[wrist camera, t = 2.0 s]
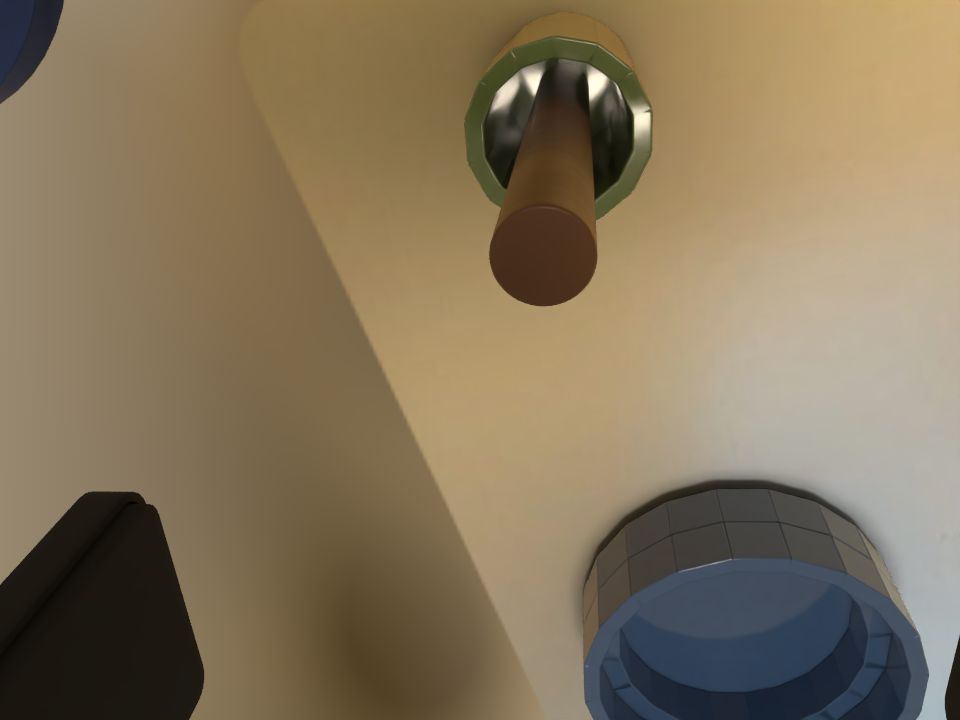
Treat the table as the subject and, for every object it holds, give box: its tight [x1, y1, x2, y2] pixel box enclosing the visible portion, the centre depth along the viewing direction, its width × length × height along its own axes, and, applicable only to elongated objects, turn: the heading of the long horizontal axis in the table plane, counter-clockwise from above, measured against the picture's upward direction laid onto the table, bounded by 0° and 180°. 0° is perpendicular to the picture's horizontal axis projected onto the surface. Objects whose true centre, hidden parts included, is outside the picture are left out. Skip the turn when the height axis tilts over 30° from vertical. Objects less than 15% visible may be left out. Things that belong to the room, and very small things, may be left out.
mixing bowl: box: [583, 489, 929, 720], centre depth 42 cm, size 16×16×6 cm
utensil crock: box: [464, 12, 653, 220], centre depth 29 cm, size 6×6×10 cm
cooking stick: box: [489, 64, 597, 306], centre depth 24 cm, size 2×2×20 cm
